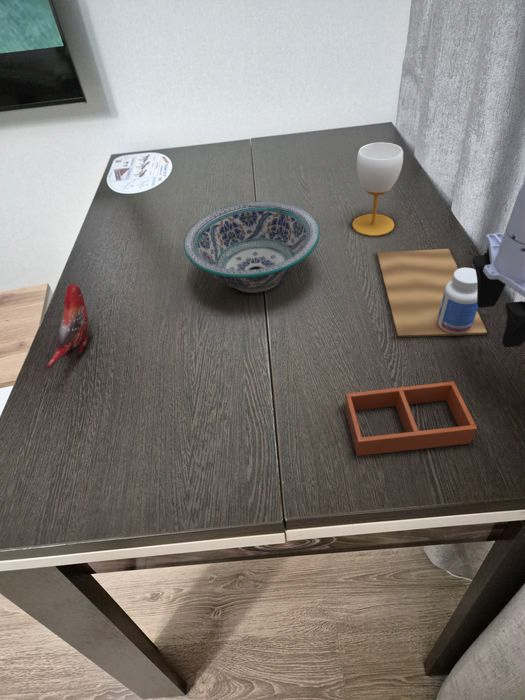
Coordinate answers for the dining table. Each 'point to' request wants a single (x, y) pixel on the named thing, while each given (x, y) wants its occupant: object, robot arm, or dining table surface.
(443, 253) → the mat
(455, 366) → the dining table surface
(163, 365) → the dining table surface
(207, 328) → the dining table surface
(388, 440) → the holder
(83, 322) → the decorative bird figurine
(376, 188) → the cup
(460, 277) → the pill bottle
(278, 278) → the bowl
